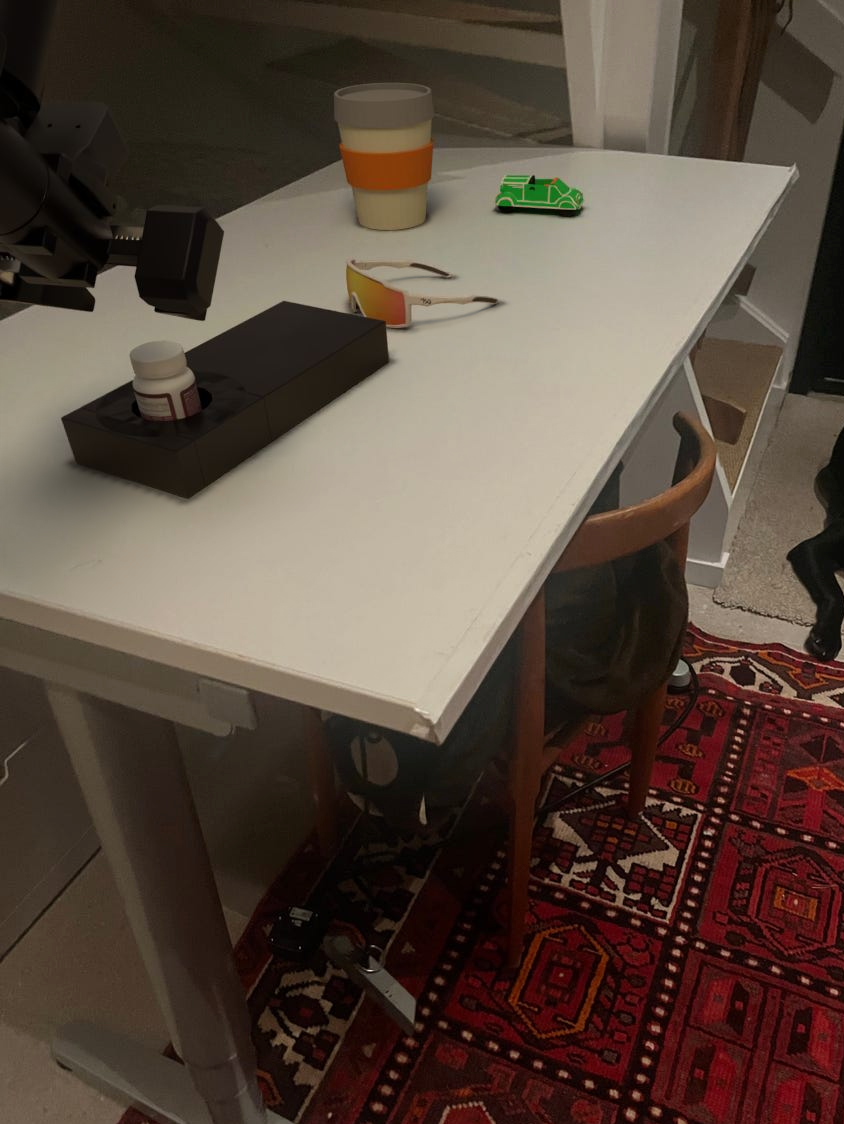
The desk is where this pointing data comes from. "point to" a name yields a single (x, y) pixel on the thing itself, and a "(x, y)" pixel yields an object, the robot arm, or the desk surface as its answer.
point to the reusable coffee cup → (386, 151)
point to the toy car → (537, 194)
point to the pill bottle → (164, 382)
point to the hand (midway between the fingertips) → (147, 309)
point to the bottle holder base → (232, 397)
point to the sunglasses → (393, 293)
